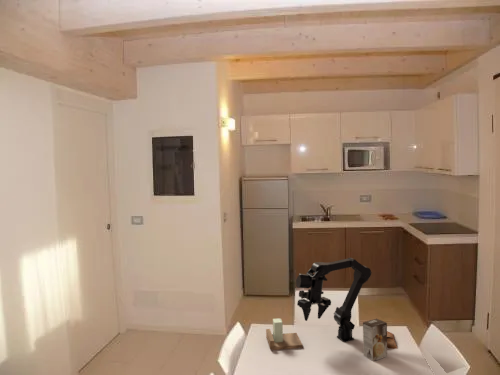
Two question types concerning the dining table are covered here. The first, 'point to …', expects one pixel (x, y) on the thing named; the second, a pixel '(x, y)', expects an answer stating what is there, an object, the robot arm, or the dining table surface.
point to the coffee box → (375, 339)
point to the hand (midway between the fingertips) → (312, 319)
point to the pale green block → (277, 330)
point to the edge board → (284, 341)
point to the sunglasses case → (391, 341)
